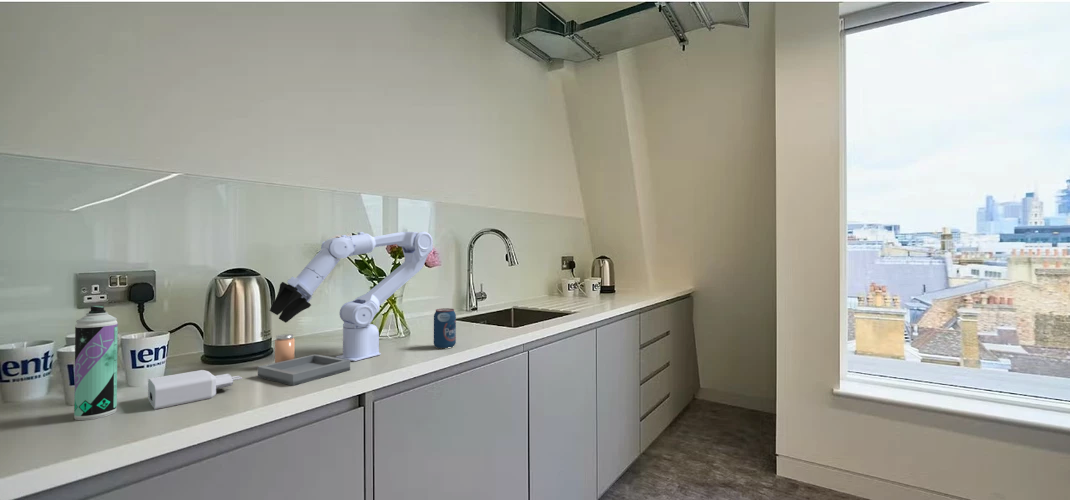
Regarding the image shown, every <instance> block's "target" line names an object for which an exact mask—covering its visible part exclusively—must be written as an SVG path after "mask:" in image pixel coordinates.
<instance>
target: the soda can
mask: <svg viewBox="0 0 1070 500" xmlns="http://www.w3.org/2000/svg"><path fill="white" fill-rule="evenodd" d="M456 319H457V315H456V312H455V309H454V308H437V309H435V312H434V314H433V346H435V348H436V347H437V348H436V349H438V348H448V347H453V346H454V347H455V346H456V344H457V342H456V341H457V332H456V331H457V330H456V329H457V328H456V327H457V320H456ZM454 347H453V348H454Z"/></svg>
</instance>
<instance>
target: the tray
mask: <svg viewBox="0 0 1070 500" xmlns="http://www.w3.org/2000/svg"><path fill="white" fill-rule="evenodd" d="M347 371H351V361H350V360H346V359H340V358H336V357H333V356H328V355H324V354H323V355H322V354H315V353H314V354H309V355H305V356H301V357H296V358H295V357H294V359H291V360H286V361H282V362H277V363H275V362H273V363H269V364H264V365H259V366H257V378H258V379H263V380H268V381H272V382H276V383H280V384H284V385H288V386H293V387H294V386H298V385H301V384H304V383H308V382H312V381H315V380H321V379H322V378H326V377H330V376H334V375H336V374H341V373H344V372H347Z"/></svg>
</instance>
